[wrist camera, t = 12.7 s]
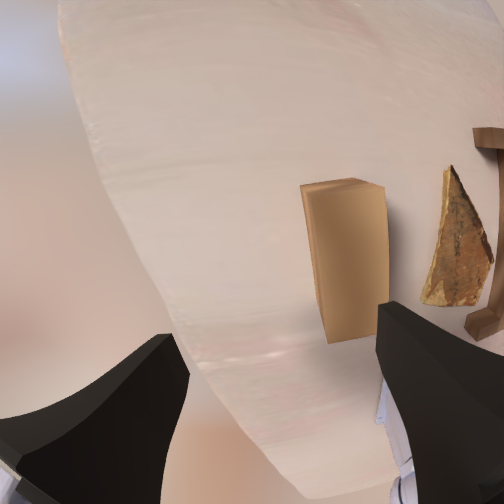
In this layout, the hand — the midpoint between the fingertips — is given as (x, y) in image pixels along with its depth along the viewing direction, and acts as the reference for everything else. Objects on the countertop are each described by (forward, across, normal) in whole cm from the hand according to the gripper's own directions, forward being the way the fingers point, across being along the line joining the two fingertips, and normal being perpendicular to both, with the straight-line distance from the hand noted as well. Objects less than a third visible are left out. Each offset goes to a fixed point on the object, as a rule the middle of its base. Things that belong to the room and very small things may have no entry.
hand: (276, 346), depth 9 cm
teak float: (+10, -4, 0) cm, 11 cm away
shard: (+11, -13, +3) cm, 17 cm away
